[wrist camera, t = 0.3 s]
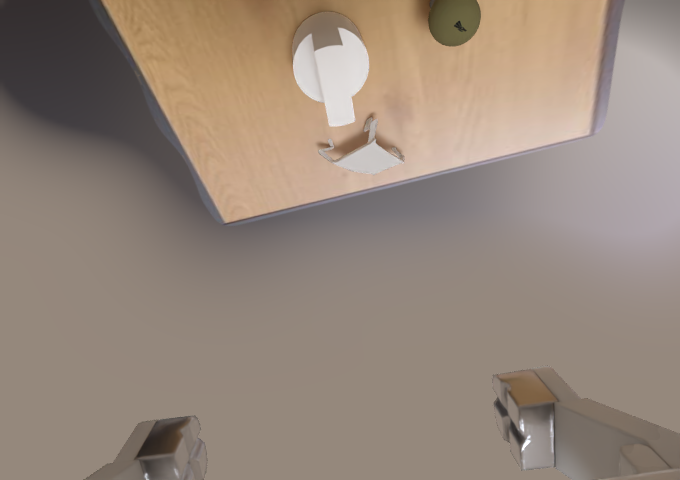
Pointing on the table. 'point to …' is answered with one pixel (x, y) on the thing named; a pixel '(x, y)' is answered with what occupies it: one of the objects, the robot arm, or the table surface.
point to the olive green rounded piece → (453, 20)
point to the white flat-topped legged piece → (366, 155)
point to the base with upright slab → (330, 63)
